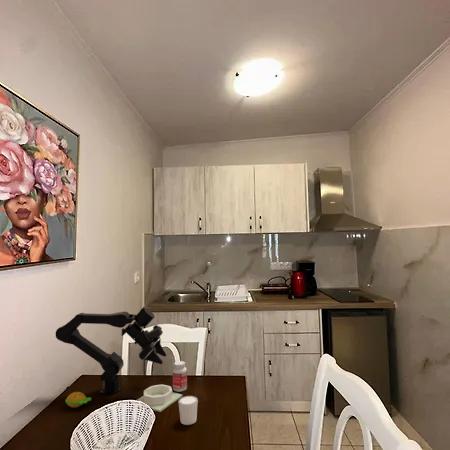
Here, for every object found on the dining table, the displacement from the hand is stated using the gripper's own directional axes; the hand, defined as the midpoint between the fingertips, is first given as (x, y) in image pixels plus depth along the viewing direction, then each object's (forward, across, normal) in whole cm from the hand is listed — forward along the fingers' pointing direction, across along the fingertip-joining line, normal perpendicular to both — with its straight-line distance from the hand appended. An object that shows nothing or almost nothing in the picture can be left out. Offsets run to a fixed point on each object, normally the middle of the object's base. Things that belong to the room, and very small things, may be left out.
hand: (164, 359), depth 138 cm
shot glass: (+18, -26, 0) cm, 31 cm away
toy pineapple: (-13, -12, +32) cm, 36 cm away
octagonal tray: (+8, -9, +10) cm, 16 cm away
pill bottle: (+14, 0, +4) cm, 15 cm away
